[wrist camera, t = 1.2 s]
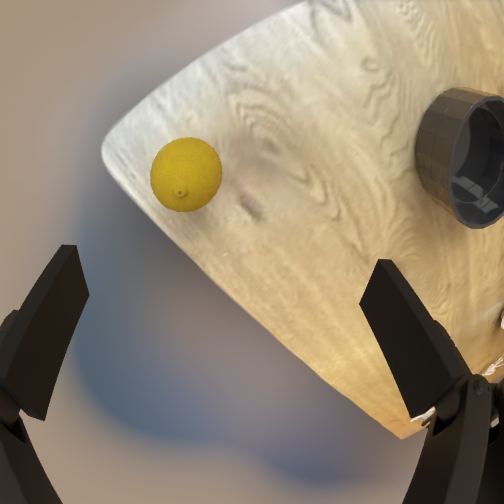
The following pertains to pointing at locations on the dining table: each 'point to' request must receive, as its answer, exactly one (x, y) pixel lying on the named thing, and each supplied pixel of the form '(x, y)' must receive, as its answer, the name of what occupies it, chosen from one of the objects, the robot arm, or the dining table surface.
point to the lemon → (186, 174)
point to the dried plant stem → (489, 369)
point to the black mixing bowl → (464, 155)
